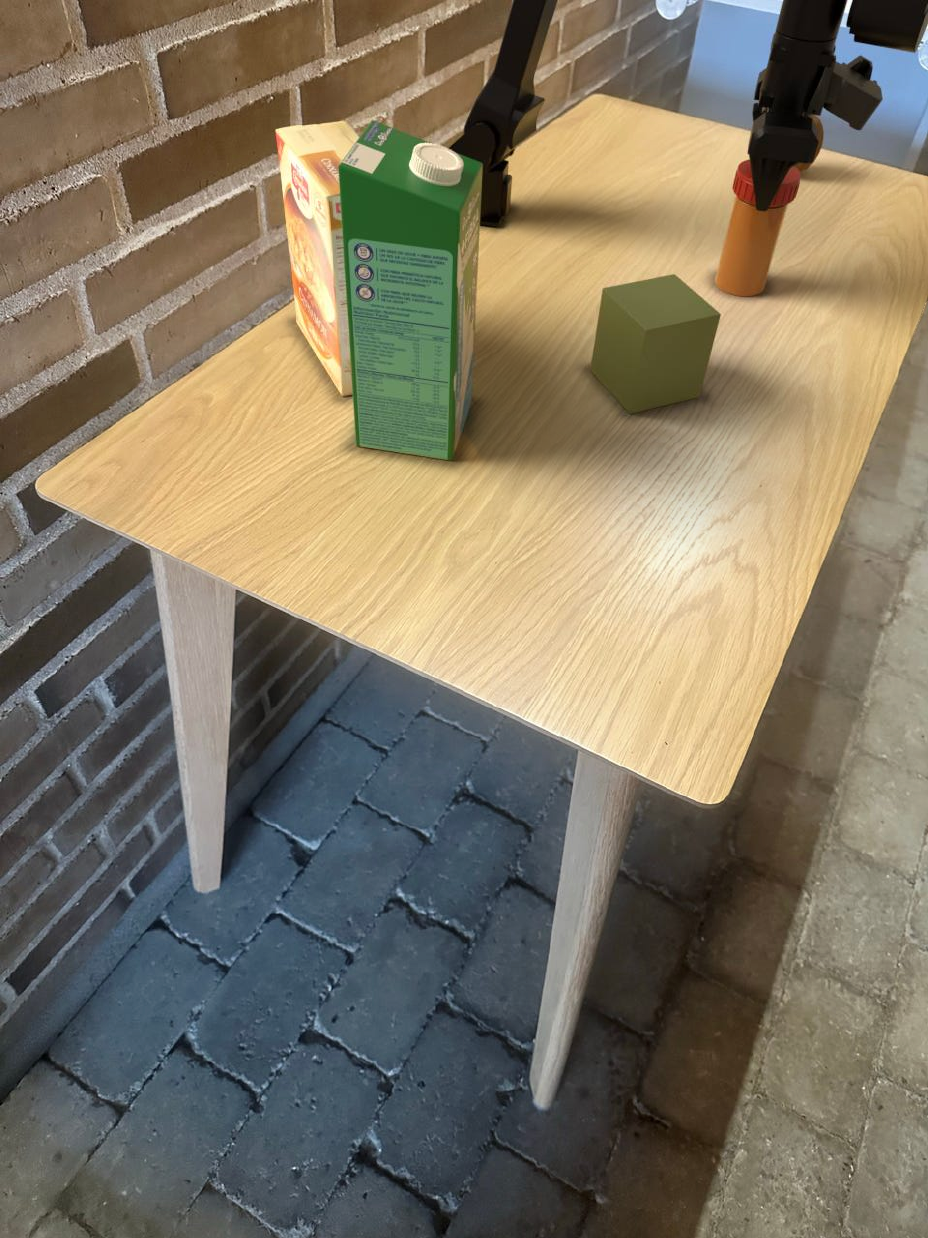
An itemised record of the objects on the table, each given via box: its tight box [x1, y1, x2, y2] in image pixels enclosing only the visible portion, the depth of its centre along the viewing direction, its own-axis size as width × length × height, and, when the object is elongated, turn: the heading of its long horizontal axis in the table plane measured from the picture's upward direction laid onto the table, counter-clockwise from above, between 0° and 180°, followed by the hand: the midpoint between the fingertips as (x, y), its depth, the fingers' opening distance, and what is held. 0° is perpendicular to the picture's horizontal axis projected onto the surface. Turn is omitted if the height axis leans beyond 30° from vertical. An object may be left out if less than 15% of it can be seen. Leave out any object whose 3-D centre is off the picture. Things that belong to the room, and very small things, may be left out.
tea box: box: [589, 273, 722, 415], centre depth 90 cm, size 8×8×9 cm
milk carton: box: [338, 119, 483, 462], centre depth 79 cm, size 9×9×25 cm
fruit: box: [794, 115, 825, 173], centre depth 127 cm, size 6×6×8 cm
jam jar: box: [714, 195, 789, 297], centre depth 104 cm, size 6×6×12 cm
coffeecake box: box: [275, 120, 360, 397], centre depth 89 cm, size 15×7×20 cm, turn 24°
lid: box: [731, 158, 802, 206], centre depth 99 cm, size 7×7×2 cm
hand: (762, 197), depth 101 cm, fingers closed on lid, 6 cm apart
